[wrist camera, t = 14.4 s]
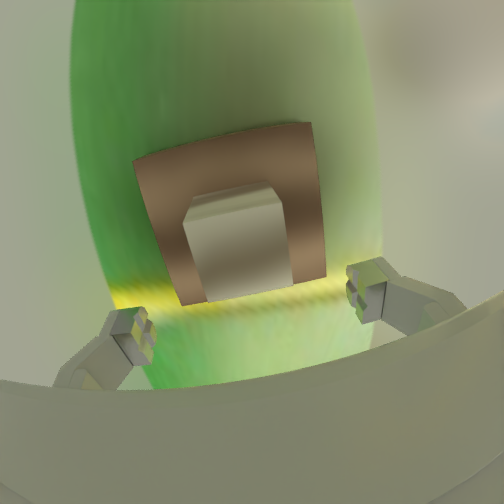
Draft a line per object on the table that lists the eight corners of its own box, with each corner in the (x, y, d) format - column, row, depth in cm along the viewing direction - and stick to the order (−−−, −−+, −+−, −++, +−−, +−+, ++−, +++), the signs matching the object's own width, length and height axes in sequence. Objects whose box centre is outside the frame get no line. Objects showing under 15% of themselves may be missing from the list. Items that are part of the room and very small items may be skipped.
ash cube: (193, 196, 18) (182, 223, 13) (267, 180, 18) (281, 202, 13) (211, 261, 20) (208, 302, 16) (278, 247, 20) (293, 285, 16)
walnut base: (144, 155, 19) (132, 161, 16) (299, 122, 19) (310, 122, 16) (185, 285, 24) (181, 306, 22) (316, 259, 24) (326, 276, 22)
